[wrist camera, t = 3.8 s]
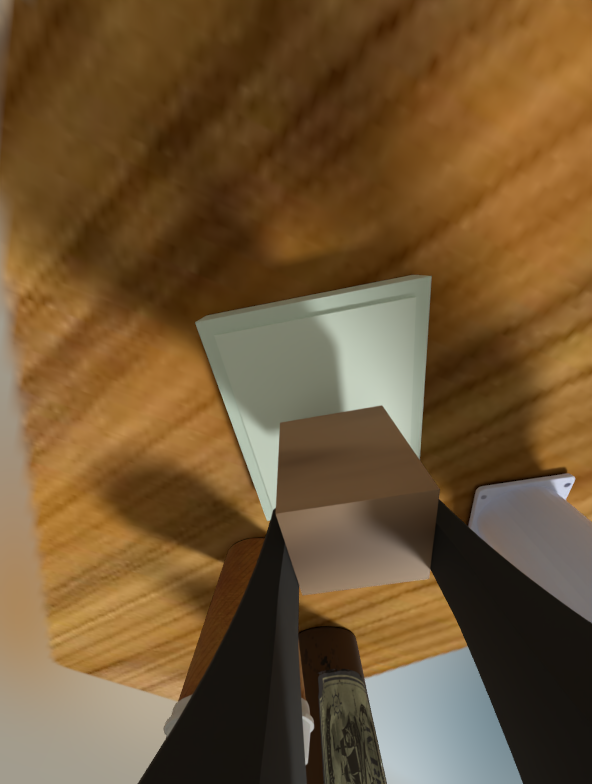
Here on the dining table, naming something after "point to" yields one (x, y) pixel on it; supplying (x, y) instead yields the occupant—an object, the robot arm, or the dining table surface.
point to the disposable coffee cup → (217, 624)
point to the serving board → (320, 364)
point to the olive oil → (338, 710)
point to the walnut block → (353, 502)
